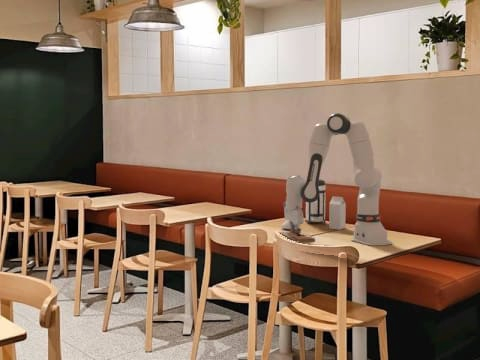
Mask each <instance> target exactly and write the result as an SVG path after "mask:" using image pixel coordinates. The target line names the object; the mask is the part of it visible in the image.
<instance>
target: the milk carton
mask: <svg viewBox="0 0 480 360" xmlns="http://www.w3.org/2000/svg"><path fill="white" fill-rule="evenodd" d="M328 205H329V206H328V207H329V208H328V209H329V210H328V212H329V214H328V219H329V221H328V223H329V224H328V225H329V226H328V228H329V229H330V230H331V229H332V230H343V229H346V217H347V216H346V212H347V211H346V208H347V207H346V206H347V204H346V202H345V199H344V197H343V196H342V197H341V196H335V195H334V196H331V200H330V202H329V203H328Z"/></svg>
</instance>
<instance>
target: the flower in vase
mask: <svg viewBox="0 0 480 360" xmlns="http://www.w3.org/2000/svg"><path fill="white" fill-rule="evenodd" d="M293 225H294V223H293ZM281 228H283V229H285V230H291V229H290V224H289V220H287V219H286V220H285V221H284V222H283V223H282V224H281ZM299 228H301V224H299V226H298V229H299Z"/></svg>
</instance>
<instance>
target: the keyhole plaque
mask: <svg viewBox="0 0 480 360" xmlns="http://www.w3.org/2000/svg"><path fill="white" fill-rule="evenodd" d="M294 226H295V225H291V229H290V231H286V232H287V234H288V235H290V236H292V237H294V238H296V239H298V240H299V239H311V237H312V236H311V235H309V234H306V233H304V232H302V233H299V236H302V237H298V236H297V235H296V233H294ZM303 233H304V234H303ZM308 235H309V236H308ZM310 236H311V237H310Z"/></svg>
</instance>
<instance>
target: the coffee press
mask: <svg viewBox="0 0 480 360" xmlns="http://www.w3.org/2000/svg"><path fill="white" fill-rule="evenodd" d="M326 185H327V183H326V181H325V180H324V179H320V178H319V181H318V187H319V192H320V195H319V198H318V199H317V200H316V201H315V202H312V203H308V202H305V219H304V221H305V222H306V223H307V225H311V224H312V223H322V224H323V225H326V192H327V191H326V190H327V189H326Z"/></svg>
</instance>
